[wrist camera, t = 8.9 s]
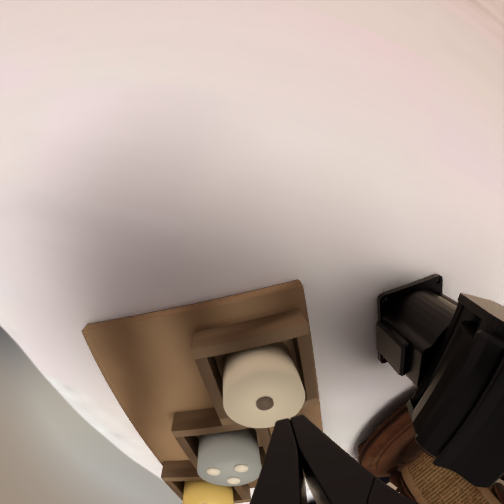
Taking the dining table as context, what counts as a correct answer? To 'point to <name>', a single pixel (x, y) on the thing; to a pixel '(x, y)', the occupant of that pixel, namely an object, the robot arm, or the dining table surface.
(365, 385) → the dining table surface
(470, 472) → the robot arm
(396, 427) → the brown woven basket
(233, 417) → the cream button
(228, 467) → the slate button
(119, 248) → the dining table surface
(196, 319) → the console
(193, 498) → the mustard button
